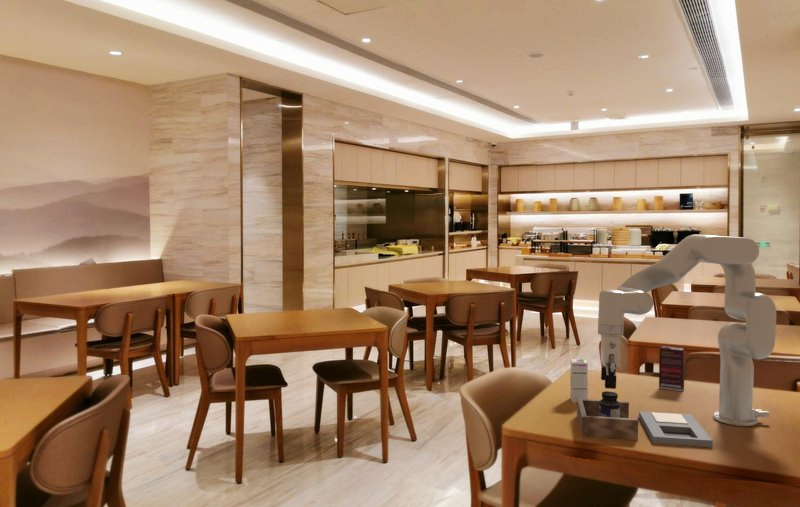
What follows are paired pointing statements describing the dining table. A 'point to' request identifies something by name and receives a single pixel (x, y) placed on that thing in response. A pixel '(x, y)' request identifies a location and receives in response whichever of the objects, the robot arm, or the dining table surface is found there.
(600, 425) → the box
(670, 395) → the dining table surface
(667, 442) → the hole deck
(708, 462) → the dining table surface
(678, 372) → the supplement box
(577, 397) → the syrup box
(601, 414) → the pill bottle
